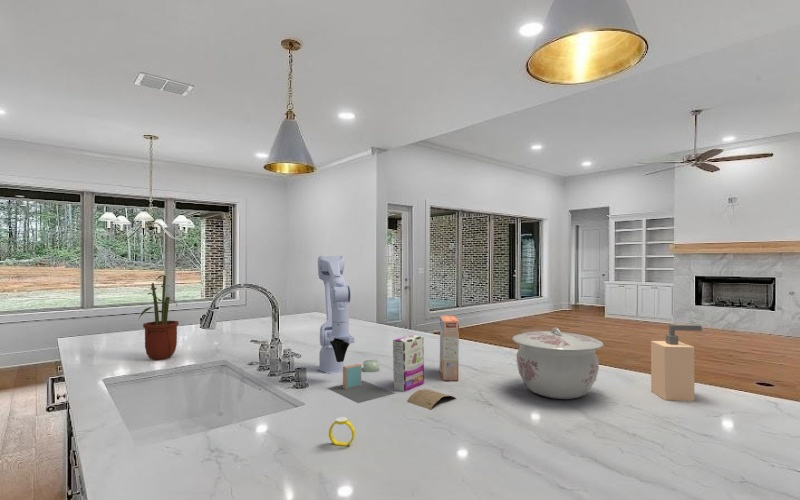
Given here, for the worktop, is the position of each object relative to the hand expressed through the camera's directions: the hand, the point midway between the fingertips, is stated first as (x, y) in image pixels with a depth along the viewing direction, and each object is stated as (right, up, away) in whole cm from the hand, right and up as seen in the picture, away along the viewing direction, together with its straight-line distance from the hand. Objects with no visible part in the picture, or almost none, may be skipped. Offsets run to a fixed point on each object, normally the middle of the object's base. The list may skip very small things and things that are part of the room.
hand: (340, 361), depth 149 cm
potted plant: (-82, -8, +34) cm, 89 cm away
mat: (+8, -7, -10) cm, 14 cm away
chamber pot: (+70, -8, -10) cm, 71 cm away
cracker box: (+38, -8, +9) cm, 40 cm away
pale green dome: (+10, -8, +15) cm, 19 cm away
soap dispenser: (+107, -8, -14) cm, 108 cm away
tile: (+5, -7, -6) cm, 10 cm away
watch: (+7, -7, -48) cm, 49 cm away
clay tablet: (+30, -8, -17) cm, 36 cm away
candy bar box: (+23, -8, -5) cm, 25 cm away
